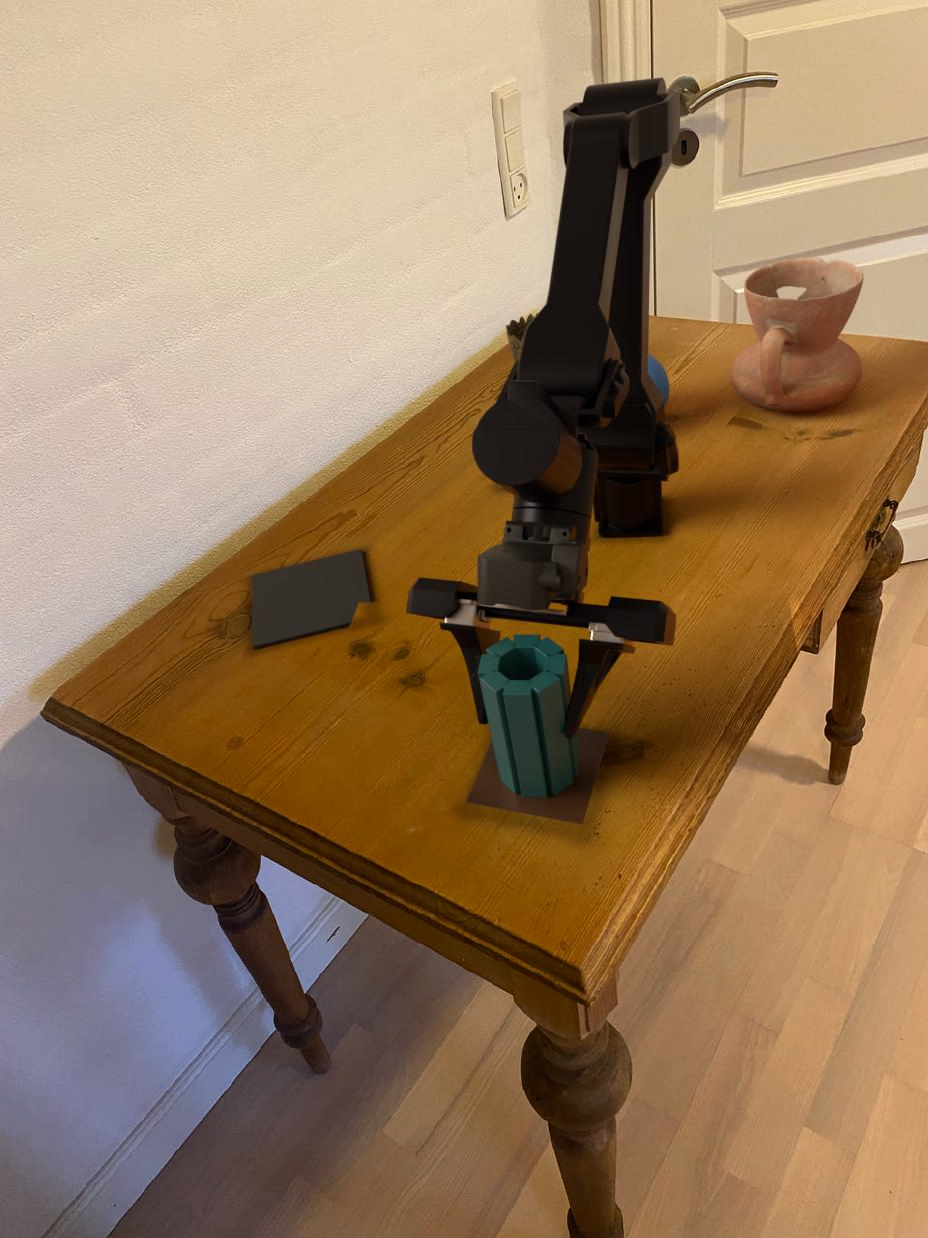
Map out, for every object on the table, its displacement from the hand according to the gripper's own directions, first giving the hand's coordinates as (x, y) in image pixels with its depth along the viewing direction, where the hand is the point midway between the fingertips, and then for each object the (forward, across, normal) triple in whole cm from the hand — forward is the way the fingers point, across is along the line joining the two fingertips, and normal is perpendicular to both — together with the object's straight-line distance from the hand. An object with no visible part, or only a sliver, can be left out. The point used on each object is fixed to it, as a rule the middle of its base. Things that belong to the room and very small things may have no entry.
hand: (525, 730), depth 64 cm
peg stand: (+4, 0, +6) cm, 7 cm away
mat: (-8, -29, +18) cm, 35 cm away
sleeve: (+3, 0, +5) cm, 6 cm away
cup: (-42, -19, +52) cm, 69 cm away
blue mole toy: (-34, -6, +44) cm, 56 cm away
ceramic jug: (-40, +14, +49) cm, 64 cm away
